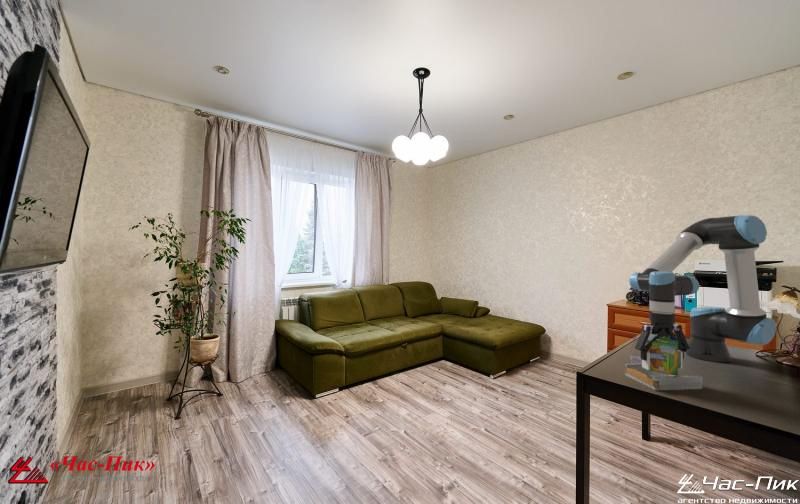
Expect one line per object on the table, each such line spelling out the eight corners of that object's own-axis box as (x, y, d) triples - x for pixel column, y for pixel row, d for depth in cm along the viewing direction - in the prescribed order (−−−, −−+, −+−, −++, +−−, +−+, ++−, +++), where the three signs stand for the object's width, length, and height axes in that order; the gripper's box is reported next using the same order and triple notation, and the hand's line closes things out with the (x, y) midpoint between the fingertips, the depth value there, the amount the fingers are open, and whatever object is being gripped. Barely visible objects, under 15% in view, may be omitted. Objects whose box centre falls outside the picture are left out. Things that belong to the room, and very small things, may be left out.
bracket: (667, 373, 128) (667, 362, 128) (702, 388, 114) (702, 376, 114) (625, 374, 127) (625, 363, 126) (655, 390, 113) (655, 378, 113)
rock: (664, 374, 127) (664, 363, 127) (629, 368, 134) (629, 357, 134) (663, 368, 134) (663, 357, 134) (630, 362, 141) (630, 352, 141)
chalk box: (646, 370, 120) (645, 332, 119) (648, 363, 126) (647, 327, 126) (678, 376, 114) (678, 335, 113) (678, 368, 120) (677, 330, 120)
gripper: (682, 309, 124) (683, 363, 124) (623, 310, 123) (624, 365, 123) (702, 313, 117) (702, 370, 117) (639, 314, 115) (639, 372, 116)
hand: (662, 368), depth 120 cm, fingers closed on chalk box, 12 cm apart
